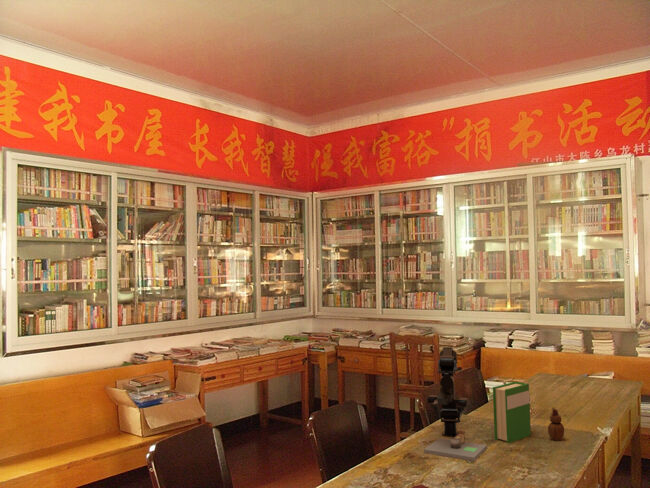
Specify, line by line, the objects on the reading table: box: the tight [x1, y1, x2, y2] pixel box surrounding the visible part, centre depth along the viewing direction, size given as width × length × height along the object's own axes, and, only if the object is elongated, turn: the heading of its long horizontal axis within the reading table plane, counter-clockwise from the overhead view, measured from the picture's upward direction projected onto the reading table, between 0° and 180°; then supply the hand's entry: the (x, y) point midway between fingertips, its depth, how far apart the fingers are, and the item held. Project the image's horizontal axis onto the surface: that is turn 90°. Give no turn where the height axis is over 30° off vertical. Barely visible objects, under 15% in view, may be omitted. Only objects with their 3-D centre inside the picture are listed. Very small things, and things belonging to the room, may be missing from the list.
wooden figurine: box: [547, 406, 565, 441], centre depth 256 cm, size 7×6×15 cm
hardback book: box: [492, 381, 532, 444], centre depth 261 cm, size 18×7×24 cm, turn 128°
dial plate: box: [423, 437, 488, 462], centre depth 244 cm, size 18×22×2 cm
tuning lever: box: [449, 430, 466, 448], centre depth 248 cm, size 12×4×4 cm, turn 148°
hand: (448, 420), depth 253 cm, fingers open, 9 cm apart
